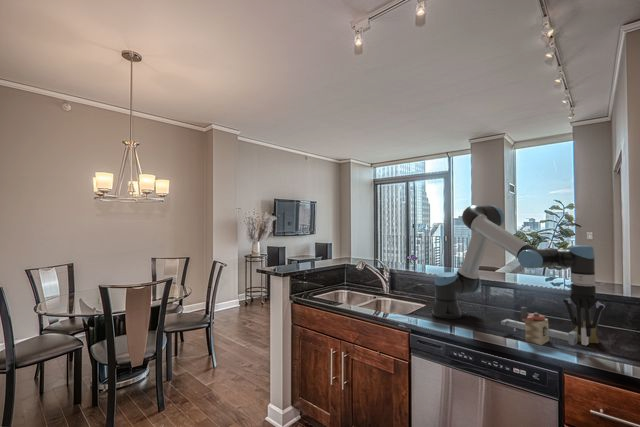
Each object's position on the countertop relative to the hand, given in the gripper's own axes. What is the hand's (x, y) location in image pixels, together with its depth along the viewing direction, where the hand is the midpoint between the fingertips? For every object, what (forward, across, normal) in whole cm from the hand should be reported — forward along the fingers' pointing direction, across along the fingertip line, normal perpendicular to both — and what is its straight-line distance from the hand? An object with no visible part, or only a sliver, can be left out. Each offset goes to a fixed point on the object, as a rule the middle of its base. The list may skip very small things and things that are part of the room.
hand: (585, 344), depth 123 cm
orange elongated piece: (-6, -17, -3) cm, 19 cm away
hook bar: (+1, -17, 0) cm, 17 cm away
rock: (+4, -5, +16) cm, 17 cm away
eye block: (+4, -17, 0) cm, 17 cm away
